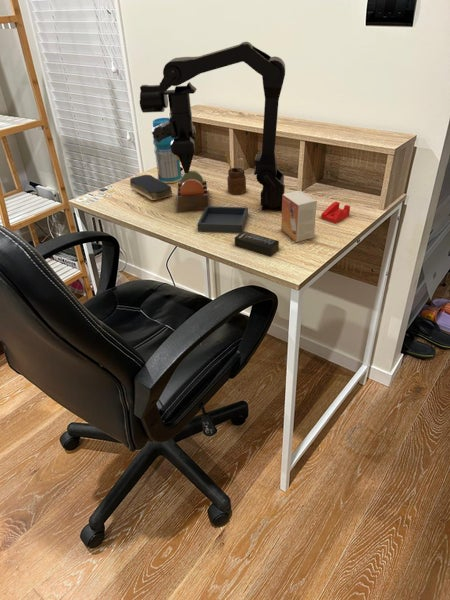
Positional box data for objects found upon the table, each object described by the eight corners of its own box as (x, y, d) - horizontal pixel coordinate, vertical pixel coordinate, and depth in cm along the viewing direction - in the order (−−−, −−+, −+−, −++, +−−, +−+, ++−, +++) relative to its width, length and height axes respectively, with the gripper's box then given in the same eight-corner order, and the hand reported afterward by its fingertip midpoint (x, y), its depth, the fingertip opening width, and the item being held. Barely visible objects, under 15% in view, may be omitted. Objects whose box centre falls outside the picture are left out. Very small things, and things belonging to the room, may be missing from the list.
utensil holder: (240, 196, 144) (239, 158, 137) (223, 192, 146) (221, 155, 139) (249, 189, 148) (248, 152, 140) (232, 186, 150) (231, 150, 143)
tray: (248, 214, 132) (247, 207, 131) (242, 233, 123) (242, 225, 122) (206, 213, 134) (206, 206, 133) (198, 231, 125) (197, 223, 124)
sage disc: (203, 191, 143) (202, 169, 139) (204, 192, 142) (202, 171, 138) (181, 193, 143) (179, 171, 139) (181, 194, 142) (179, 172, 138)
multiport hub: (270, 256, 112) (270, 248, 111) (234, 245, 118) (233, 237, 116) (279, 248, 115) (279, 240, 114) (243, 238, 121) (243, 230, 119)
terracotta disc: (204, 200, 138) (202, 178, 134) (204, 201, 137) (202, 179, 133) (181, 202, 138) (179, 179, 134) (181, 203, 137) (178, 181, 133)
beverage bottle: (167, 186, 154) (159, 125, 142) (153, 180, 159) (144, 120, 147) (187, 179, 158) (180, 119, 146) (172, 173, 163) (165, 115, 152)
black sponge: (128, 189, 153) (126, 179, 151) (150, 182, 157) (149, 172, 155) (153, 204, 142) (151, 193, 140) (175, 196, 146) (174, 185, 144)
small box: (280, 230, 123) (281, 193, 117) (298, 225, 125) (300, 189, 119) (296, 242, 117) (297, 205, 111) (314, 237, 119) (317, 200, 113)
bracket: (335, 211, 131) (335, 201, 129) (349, 215, 128) (350, 206, 126) (321, 218, 128) (321, 208, 126) (335, 223, 125) (336, 213, 123)
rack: (208, 194, 146) (207, 180, 144) (210, 210, 136) (209, 195, 133) (178, 196, 146) (176, 182, 143) (177, 212, 136) (175, 198, 133)
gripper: (153, 105, 130) (161, 159, 140) (147, 122, 115) (156, 181, 124) (192, 102, 130) (197, 156, 139) (191, 119, 115) (197, 178, 124)
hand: (187, 167), depth 132 cm, fingers open, 9 cm apart
